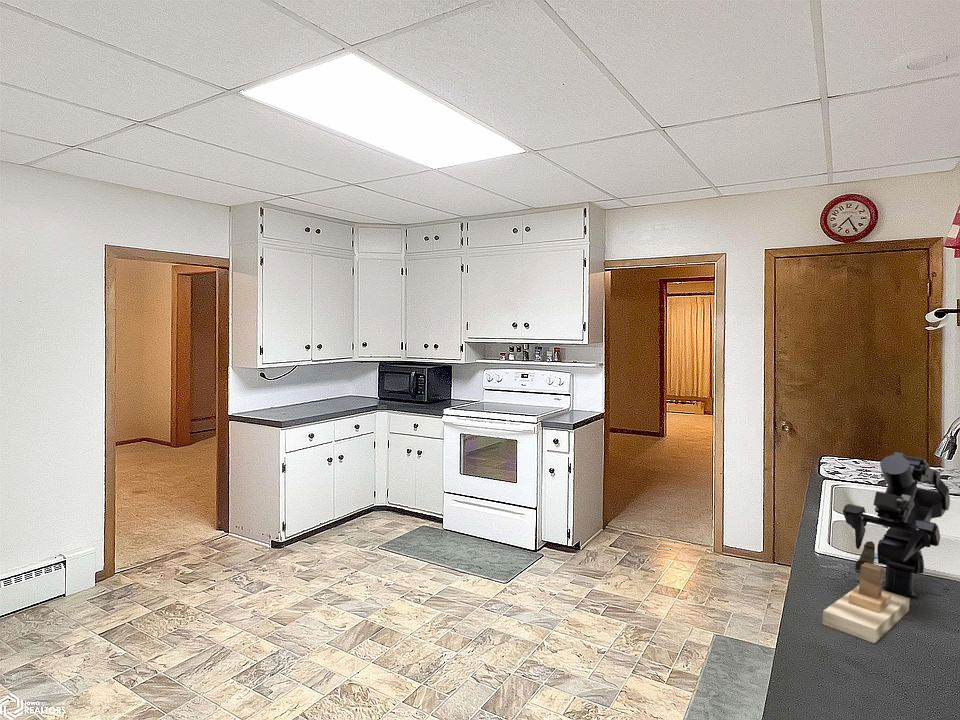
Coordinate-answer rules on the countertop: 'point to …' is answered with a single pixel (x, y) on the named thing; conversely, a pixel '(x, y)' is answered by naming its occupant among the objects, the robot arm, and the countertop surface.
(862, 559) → the hand tool
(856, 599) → the block
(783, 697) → the countertop surface
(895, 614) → the board
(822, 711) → the countertop surface
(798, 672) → the countertop surface
